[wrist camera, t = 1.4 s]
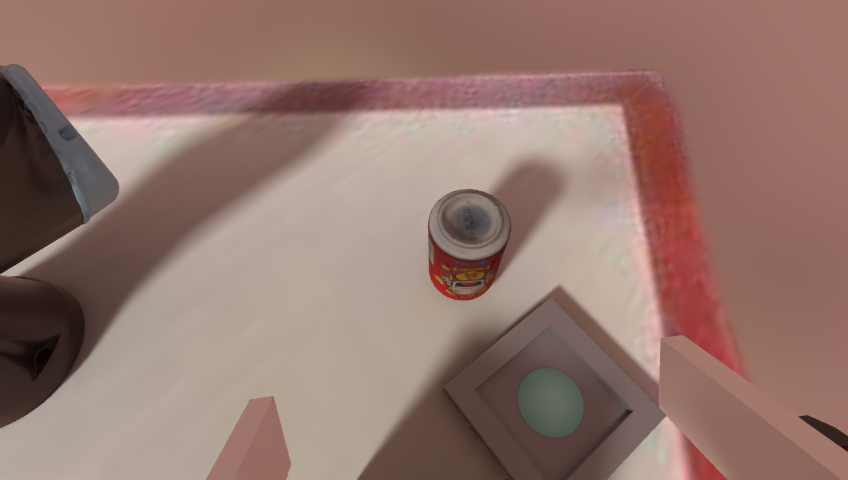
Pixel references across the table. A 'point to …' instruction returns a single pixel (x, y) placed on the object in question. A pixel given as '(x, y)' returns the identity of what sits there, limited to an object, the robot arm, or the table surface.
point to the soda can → (466, 242)
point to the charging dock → (553, 401)
